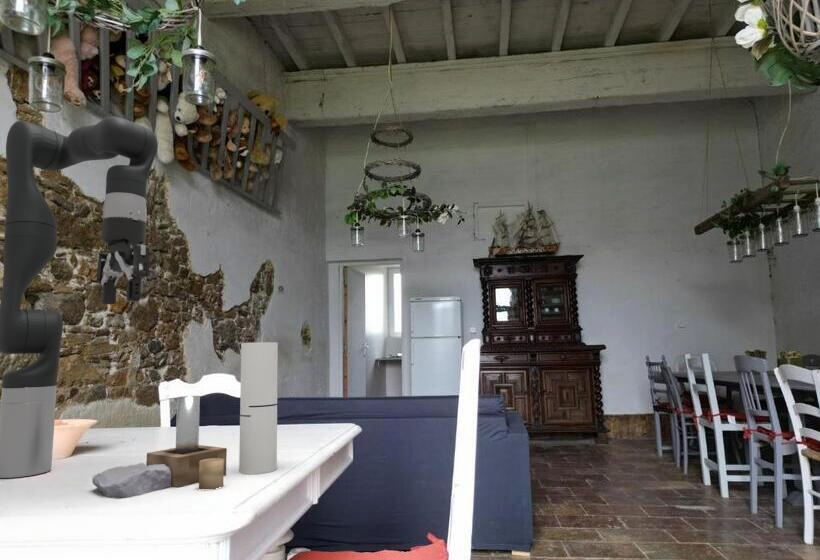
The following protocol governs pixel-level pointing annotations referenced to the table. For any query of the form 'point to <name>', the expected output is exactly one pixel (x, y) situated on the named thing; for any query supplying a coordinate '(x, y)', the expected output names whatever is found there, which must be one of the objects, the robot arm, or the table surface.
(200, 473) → the oak stub
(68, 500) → the table surface
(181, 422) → the steel pin
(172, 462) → the collar
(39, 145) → the robot arm
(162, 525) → the table surface
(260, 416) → the cylindrical container
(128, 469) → the stone block
